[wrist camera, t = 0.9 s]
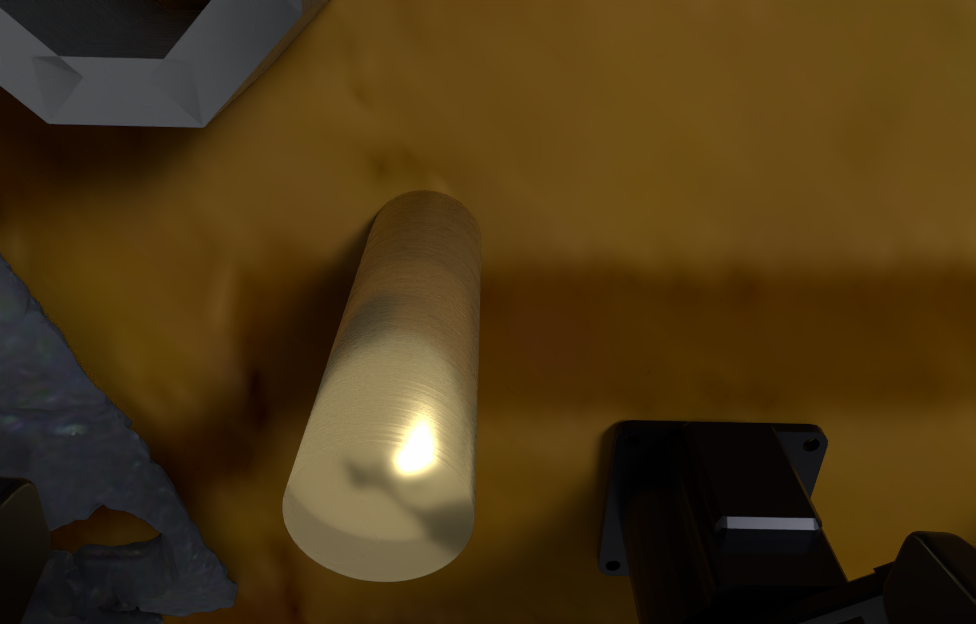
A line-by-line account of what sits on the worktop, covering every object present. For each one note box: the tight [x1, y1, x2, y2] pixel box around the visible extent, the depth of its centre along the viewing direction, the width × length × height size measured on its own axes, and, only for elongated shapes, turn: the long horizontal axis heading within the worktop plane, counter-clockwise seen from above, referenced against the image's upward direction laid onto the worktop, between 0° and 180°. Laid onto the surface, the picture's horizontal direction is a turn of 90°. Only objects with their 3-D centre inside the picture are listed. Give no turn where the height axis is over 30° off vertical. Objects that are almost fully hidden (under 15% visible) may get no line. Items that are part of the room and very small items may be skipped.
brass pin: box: [282, 191, 481, 582], centre depth 16 cm, size 3×3×10 cm
